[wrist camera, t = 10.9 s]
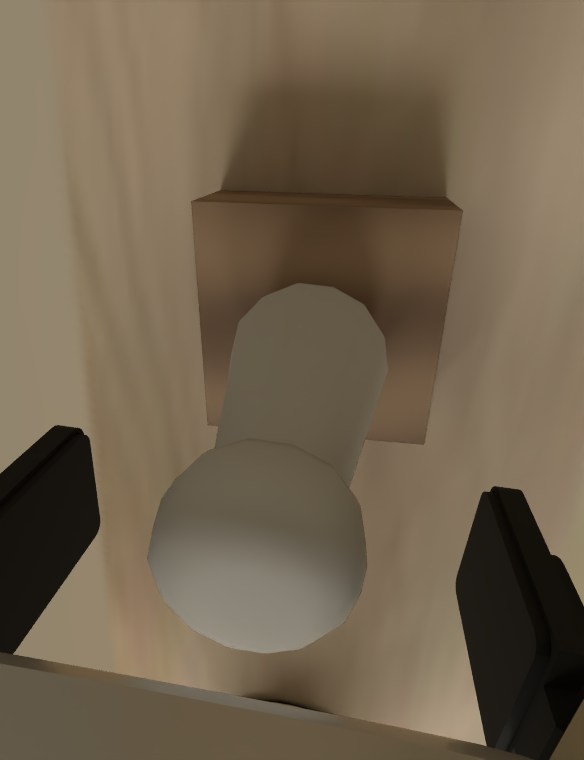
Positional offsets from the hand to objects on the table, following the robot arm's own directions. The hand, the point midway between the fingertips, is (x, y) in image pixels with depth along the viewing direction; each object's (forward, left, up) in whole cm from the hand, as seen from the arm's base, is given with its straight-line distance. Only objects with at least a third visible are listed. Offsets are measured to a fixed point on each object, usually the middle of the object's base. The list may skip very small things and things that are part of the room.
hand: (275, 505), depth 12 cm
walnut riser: (0, 0, -14) cm, 14 cm away
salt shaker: (0, 0, -10) cm, 10 cm away
